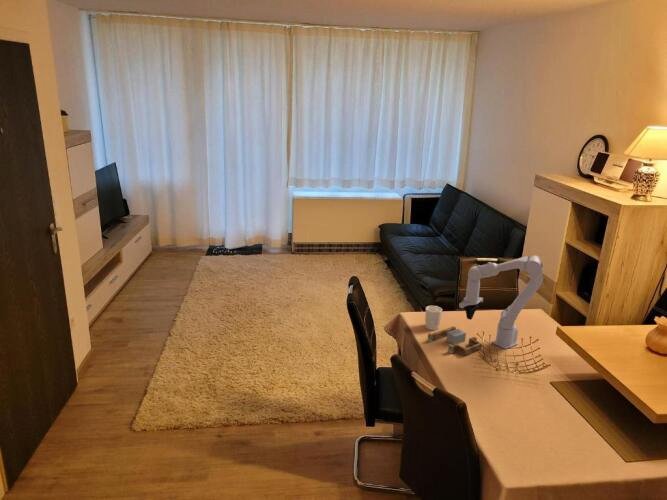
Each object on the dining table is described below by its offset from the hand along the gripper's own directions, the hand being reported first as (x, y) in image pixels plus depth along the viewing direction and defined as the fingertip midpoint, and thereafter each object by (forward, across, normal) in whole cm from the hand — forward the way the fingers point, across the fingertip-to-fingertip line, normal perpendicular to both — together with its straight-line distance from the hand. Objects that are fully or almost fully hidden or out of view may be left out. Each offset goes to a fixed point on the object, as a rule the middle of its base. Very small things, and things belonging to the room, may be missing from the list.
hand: (469, 318), depth 234 cm
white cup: (+10, +7, -16) cm, 20 cm away
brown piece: (+9, +11, +2) cm, 14 cm away
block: (+10, +8, 0) cm, 12 cm away
